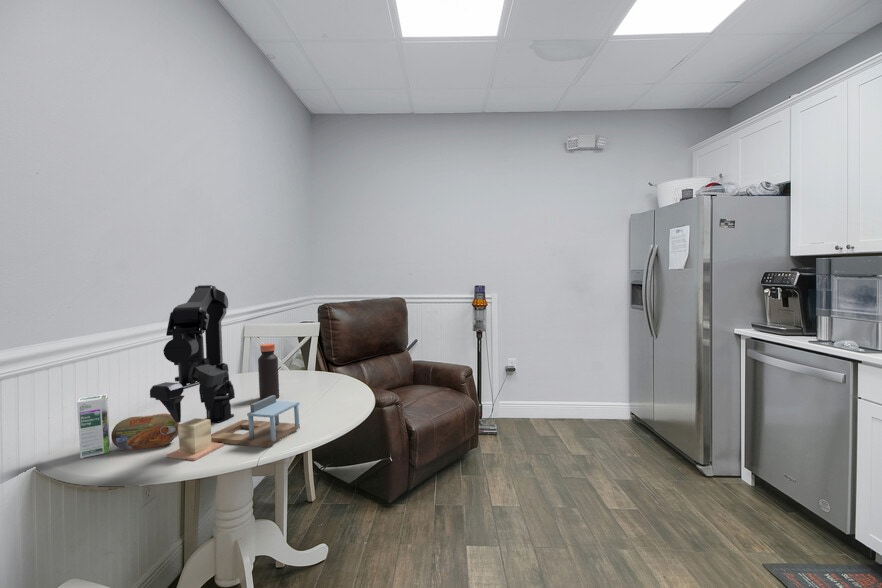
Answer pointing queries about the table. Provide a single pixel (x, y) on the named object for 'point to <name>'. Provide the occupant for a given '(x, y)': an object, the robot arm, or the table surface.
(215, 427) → the table surface
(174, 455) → the terracotta tile
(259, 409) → the light blue toy bench
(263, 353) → the bottle
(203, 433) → the maple block
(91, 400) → the syrup box
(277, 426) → the puzzle board
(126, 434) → the tin
